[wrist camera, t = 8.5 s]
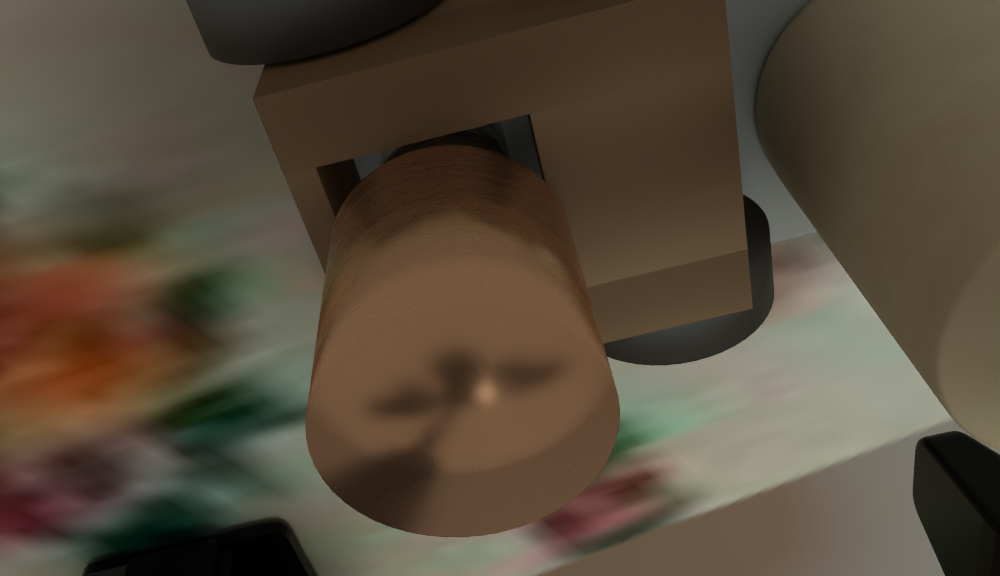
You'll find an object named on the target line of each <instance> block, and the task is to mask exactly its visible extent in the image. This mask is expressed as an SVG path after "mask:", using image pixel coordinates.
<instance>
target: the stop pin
mask: <svg viewBox="0 0 1000 576" xmlns="http://www.w3.org/2000/svg"><path fill="white" fill-rule="evenodd" d="M619 421H620V407H619V398H618V394H617V390H616V387H615V383H614V380H613V376H612V373H611V369H610V366H609V362H608V359H607V355H606V352H605V348H604V345H603V341H602V338H601V334H600V331H599V327H598V324H597V320H596V317H595V313H594V310H593V306H592V303H591V299H590V296H589V292H588V289H587V285H586V282H585V278H584V275H583V271H582V268H581V264H580V261H579V257H578V254H577V250H576V247H575V244H574V240H573V237H572V233H571V230H570V226H569V223H568V219H567V216H566V213H565V211H564V209H563V207H562V205H561V203H560V201H559V200H558V198H557V197H556V195H555V194H554V192H553V191H552V189H551V188H550V187H549V186H548V185H547V184H546V183H545V182H544V181H543V179H542V178H540V177H539V176H538V175H537V174H536V173H534V172H533V171H532V170H531V169H529V168H528V167H526V166H524V165H523V164H521V163H520V162H518V161H516V160H514V159H512V158H510V156H509V152H508V147H507V142H506V137H505V132H504V127H503V122H502V121H500V122H496V123H492V124H488V125H484V126H480V127H476V128H472V129H468V130H464V131H460V132H456V133H452V134H448V135H444V136H440V137H436V138H432V139H428V140H424V141H420V142H416V143H412V144H408V145H404V146H400V147H396V148H392V149H388V150H384V151H381V158H380V166H379V167H378V168H376V169H375V170H373V171H372V172H371V173H369V174H368V175H367V176H366V177H365V178H363V179H362V180H361V181H360V182H359V183H358V184H357V185H356V187H355V188H354V189H353V190H352V191H351V192H350V194H349V195H348V196H347V198H346V199H345V201H344V202H343V204H342V206H341V208H340V210H339V212H338V214H337V216H336V218H335V222H334V225H333V228H332V232H331V238H330V245H329V253H328V260H327V267H326V275H325V282H324V289H323V297H322V304H321V311H320V319H319V326H318V333H317V341H316V348H315V355H314V363H313V370H312V377H311V385H310V392H309V399H308V407H307V414H306V439H307V444H308V449H309V453H310V455H311V458H312V460H313V463H314V465H315V467H316V469H317V470H318V472H319V474H320V475H321V477H322V479H323V480H324V481H325V483H326V484H327V485H328V486H329V487H330V489H331V490H332V491H333V492H334V493H335V494H336V495H337V496H338V497H340V498H341V499H342V500H343V501H344V502H345V503H346V504H348V505H349V506H351V507H352V508H354V509H355V510H357V511H358V512H359V513H361V514H363V515H365V516H367V517H369V518H371V519H373V520H375V521H377V522H380V523H382V524H384V525H387V526H389V527H392V528H396V529H399V530H403V531H406V532H411V533H416V534H422V535H428V536H439V537H470V536H481V535H487V534H493V533H499V532H503V531H507V530H510V529H514V528H518V527H520V526H523V525H526V524H529V523H531V522H534V521H536V520H538V519H540V518H542V517H545V516H547V515H549V514H551V513H553V512H554V511H556V510H557V509H559V508H561V507H562V506H564V505H566V504H567V503H568V502H570V501H571V500H572V499H573V498H575V497H576V496H577V495H579V494H580V493H581V492H582V491H583V490H584V489H585V488H586V487H587V486H588V485H589V484H590V483H591V482H592V481H593V480H594V478H595V477H596V476H597V475H598V473H599V472H600V471H601V470H602V468H603V466H604V465H605V463H606V461H607V460H608V458H609V456H610V454H611V452H612V449H613V447H614V444H615V442H616V438H617V434H618V429H619Z"/></svg>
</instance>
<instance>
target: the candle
mask: <svg viewBox="0 0 1000 576" xmlns="http://www.w3.org/2000/svg"><path fill="white" fill-rule="evenodd" d="M755 113H756V125H757V130H758V135H759V139H760V142H761V145H762V148H763V150H764V153H765V155H766V158H767V159H768V161H769V163H770V165H771V166H772V168H773V170H774V171H775V173H776V174H777V176H778V177H779V179H780V180H781V182H782V183H783V185H784V186H785V188H786V189H787V190H788V192H789V193H790V195H791V196H792V197H793V199H794V200H795V201H796V203H797V204H798V206H799V207H800V208H801V210H802V211H803V213H804V214H805V215H806V217H807V218H808V219H809V221H810V222H811V224H812V225H813V226H814V228H815V229H816V231H817V232H818V233H819V235H820V236H821V237H822V239H823V240H824V242H825V243H826V244H827V246H828V247H829V249H830V250H831V251H832V253H833V254H834V256H835V257H836V258H837V260H838V261H839V262H840V264H841V265H842V267H843V268H844V269H845V271H846V272H847V274H848V275H849V276H850V278H851V279H852V280H853V282H854V283H855V285H856V286H857V287H858V289H859V290H860V292H861V293H862V294H863V296H864V297H865V298H866V300H867V301H868V303H869V304H870V305H871V307H872V308H873V310H874V311H875V312H876V314H877V315H878V317H879V318H880V319H881V321H882V322H883V323H884V325H885V326H886V328H887V329H888V330H889V332H890V333H891V335H892V336H893V337H894V339H895V340H896V341H897V343H898V344H899V346H900V347H901V348H902V350H903V351H904V353H905V354H906V355H907V357H908V358H909V360H910V361H911V362H912V364H913V365H914V366H915V368H916V369H917V371H918V372H919V373H920V375H921V376H922V378H923V379H924V380H925V382H926V383H927V384H928V386H929V387H930V389H931V390H932V391H933V393H934V394H935V395H936V397H937V398H938V400H939V401H940V402H941V404H942V405H943V406H944V408H945V409H946V411H947V412H948V413H949V415H950V416H951V417H952V418H953V419H954V420H955V422H956V423H957V424H958V425H959V426H960V427H961V428H962V429H964V430H965V431H966V432H967V433H969V434H970V435H971V436H972V437H974V438H976V439H977V440H979V441H981V442H983V443H985V444H987V445H989V446H992V447H995V448H997V449H1000V0H812V1H811V2H810V3H808V4H807V5H806V6H805V7H804V8H803V9H802V10H801V11H800V12H799V13H798V14H797V15H796V16H795V17H794V18H793V20H792V21H791V22H790V23H789V25H788V26H787V27H786V28H785V30H784V31H783V32H782V34H781V35H780V37H779V39H778V40H777V42H776V43H775V45H774V46H773V48H772V50H771V52H770V54H769V56H768V58H767V61H766V63H765V65H764V68H763V71H762V74H761V77H760V80H759V85H758V90H757V94H756V107H755Z"/></svg>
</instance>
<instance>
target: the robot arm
mask: <svg viewBox="0 0 1000 576" xmlns="http://www.w3.org/2000/svg"><path fill="white" fill-rule="evenodd" d="M913 479H914V480H913V499H914V504H915V507H916V510H917V513H918V516H919V518H920V520H921V523H922V525H923V527H924V529H925V531H926V534H927V536H928V538H929V541H930V543H931V545H932V547H933V550H934V552H935V554H936V556H937V558H938V561H939V563H940V565H941V567H942V570H943V572H944V574H945V576H1000V455H999V454H998V453H996V452H994V451H993V450H991V449H990V448H988V447H986V446H985V445H983V444H981V443H980V442H978V441H977V440H975V439H973V438H972V437H970V436H968V435H966V434H964V433H962V432H958V431H951V432H946V433H941V434H936V435H932V436H927V437H923V438H922V439H920V440H919V441H918V443H917V445H916V449H915V465H914V478H913ZM273 539H274V540H273ZM82 576H316V575H315V573H314V572H313V570H312V568H311V566H310V564H309V563H308V561H307V559H306V557H305V555H304V553H303V552H302V550H301V548H300V546H299V544H298V543H297V541H296V539H295V537H294V535H293V533H292V532H291V530H290V529H289V528H288V527H287V526H286V525H284V524H281V523H276V522H274V523H266V524H262V525H257V526H253V527H249V528H244V529H240V530H235V531H231V532H226V533H222V534H218V535H213V536H209V537H204V538H200V539H196V540H191V541H187V542H182V543H178V544H174V545H169V546H165V547H160V548H156V549H151V550H147V551H143V552H138V553H134V554H129V555H125V556H121V557H116V558H112V559H107V560H103V561H99V562H94V563H91V564H89V565H88V566H87V567H86V568H85V569H84V572H83V575H82Z"/></svg>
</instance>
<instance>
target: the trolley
mask: <svg viewBox="0 0 1000 576" xmlns="http://www.w3.org/2000/svg"><path fill="white" fill-rule="evenodd" d="M186 1H187V4H188V6H189V8H190V11H191V13H192V15H193V18H194V20H195V22H196V25H197V27H198V29H199V32H200V34H201V36H202V38H203V41H204V43H205V45H206V48H207V50H208V52H209V54H210V56H211V57H213V58H214V59H215V60H218V61H220V62H224V63H228V64H237V65H259V64H265V66H264V69H263V71H262V74H261V77H260V80H259V83H258V85H257V88H256V91H255V94H254V97H253V101H254V103H255V106H256V108H257V111H258V113H259V115H260V118H261V120H262V123H263V125H264V127H265V130H266V132H267V135H268V137H269V139H270V142H271V144H272V147H273V149H274V151H275V154H276V156H277V159H278V161H279V164H280V166H281V168H282V171H283V173H284V176H285V178H286V180H287V183H288V185H289V188H290V190H291V192H292V195H293V197H294V200H295V202H296V204H297V207H298V209H299V212H300V214H301V216H302V219H303V221H304V224H305V226H306V229H307V231H308V233H309V236H310V238H311V241H312V243H313V245H314V248H315V250H316V253H317V255H318V257H319V260H320V262H321V265H322V267H323V269H324V272H325V274H326V267H327V260H328V253H329V245H330V238H331V232H332V228H333V225H334V222H335V218H336V216H337V214H338V212H339V210H340V208H341V206H342V204H343V202H344V201H345V199H346V198H347V196H348V195H349V194H350V192H351V191H352V190H353V189H354V188H355V187H356V185H357V184H358V183H359V182H360V181H361V179H360V176H359V173H358V171H357V168H356V165H355V162H354V159H353V158H356V157H360V156H364V155H368V154H372V153H376V152H380V151H384V150H388V149H392V148H396V147H400V146H404V145H408V144H412V143H416V142H420V141H424V140H428V139H432V138H436V137H440V136H444V135H448V134H452V133H456V132H460V131H464V130H468V129H472V128H476V127H480V126H484V125H488V124H492V123H496V122H500V121H504V120H508V119H512V118H516V117H520V116H524V115H528V119H529V124H530V128H531V132H532V136H533V141H534V145H535V149H536V154H537V158H538V162H539V167H540V171H541V175H542V179H543V181H544V182H545V183H546V184H547V185H548V186H549V187H550V188H551V189H552V191H553V192H554V194H555V195H556V197H557V198H558V200H559V201H560V203H561V205H562V207H563V209H564V211H565V213H566V216H567V219H568V223H569V226H570V230H571V233H572V237H573V240H574V244H575V247H576V250H577V254H578V257H579V261H580V264H581V268H582V271H583V275H584V278H585V282H586V285H587V289H588V292H589V296H590V299H591V303H592V306H593V310H594V313H595V317H596V320H597V324H598V327H599V331H600V334H601V338H602V341H603V345H604V348H605V352H606V355H607V357H610V358H612V359H616V360H619V361H623V362H628V363H634V364H642V365H672V364H681V363H687V362H692V361H697V360H700V359H704V358H707V357H710V356H713V355H716V354H718V353H721V352H723V351H725V350H727V349H729V348H731V347H733V346H735V345H737V344H738V343H740V342H742V341H743V340H745V339H746V338H747V337H749V336H750V335H751V334H752V333H754V332H755V331H756V330H757V329H758V327H759V326H760V325H761V324H762V323H763V322H764V320H765V319H766V317H767V316H768V314H769V312H770V310H771V307H772V304H773V300H774V284H773V270H772V256H771V242H770V228H769V223H768V219H767V217H766V215H765V213H764V211H763V210H762V209H761V208H760V206H759V205H758V204H757V203H755V202H754V201H753V200H752V199H750V198H749V197H747V196H745V195H744V194H743V192H742V181H741V169H740V158H739V147H738V136H737V125H736V113H735V102H734V91H733V80H732V68H731V57H730V46H729V35H728V24H727V12H726V1H725V0H186Z"/></svg>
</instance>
